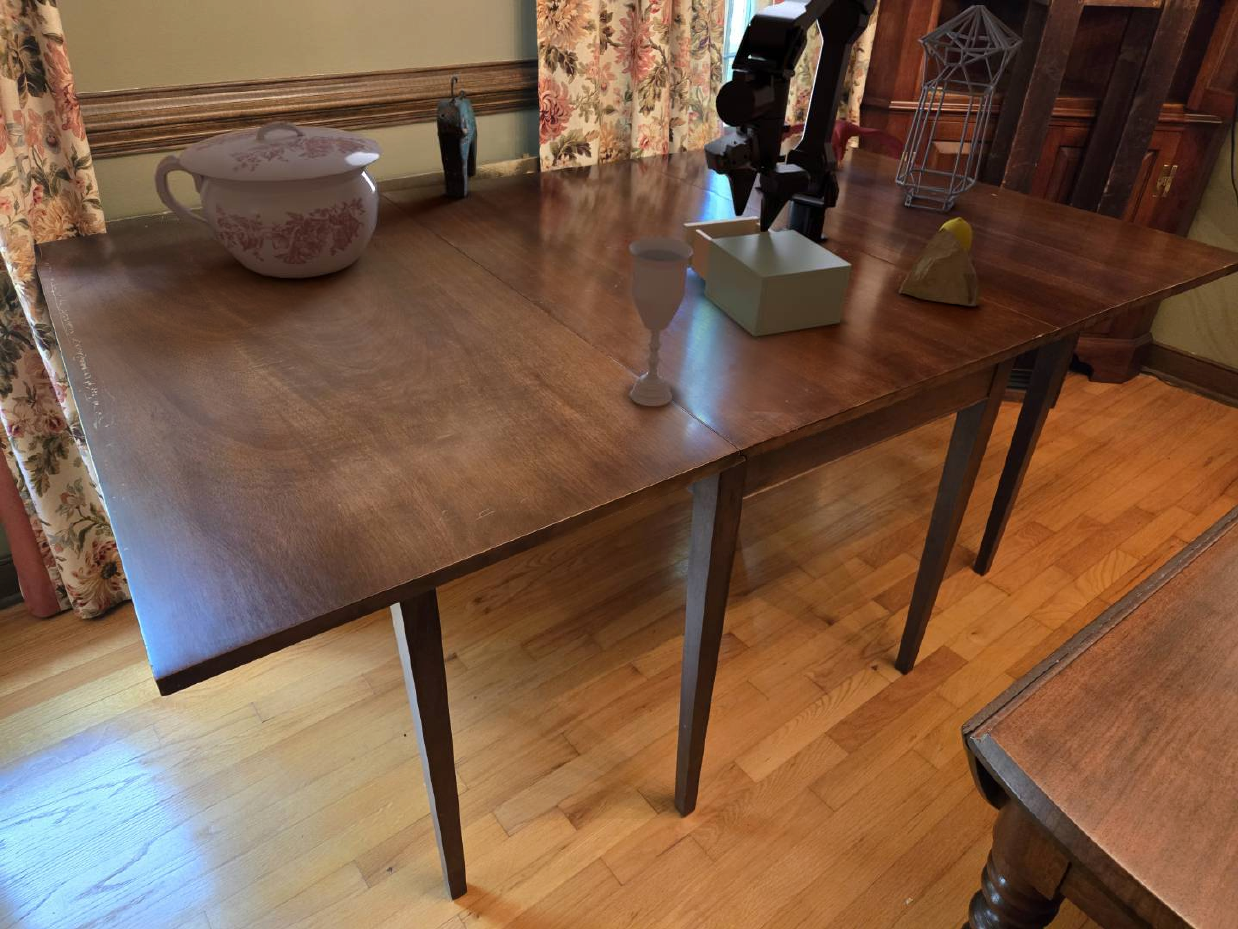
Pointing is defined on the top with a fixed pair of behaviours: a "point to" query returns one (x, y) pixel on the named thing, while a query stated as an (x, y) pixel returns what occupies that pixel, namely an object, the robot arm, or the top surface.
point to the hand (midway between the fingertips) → (750, 223)
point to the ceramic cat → (457, 141)
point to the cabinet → (776, 282)
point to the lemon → (960, 231)
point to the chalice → (657, 304)
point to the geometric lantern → (934, 39)
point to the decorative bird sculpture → (848, 130)
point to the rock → (943, 273)
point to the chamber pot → (282, 196)
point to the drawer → (715, 237)
